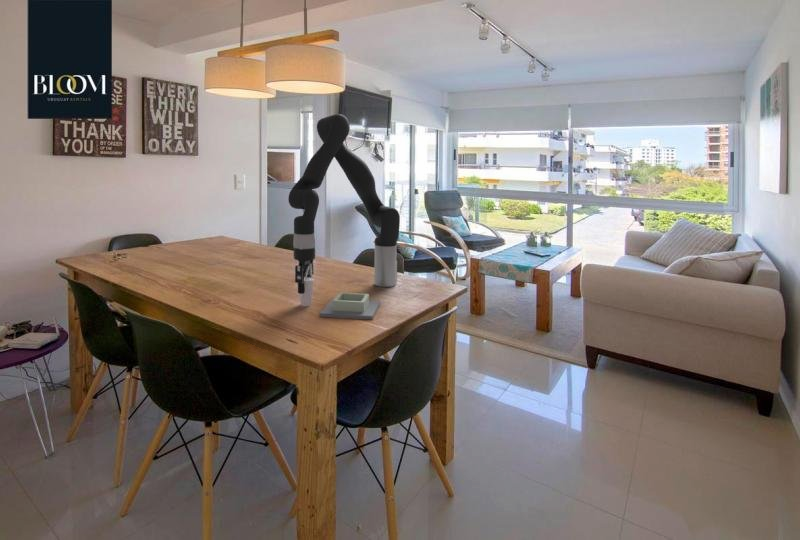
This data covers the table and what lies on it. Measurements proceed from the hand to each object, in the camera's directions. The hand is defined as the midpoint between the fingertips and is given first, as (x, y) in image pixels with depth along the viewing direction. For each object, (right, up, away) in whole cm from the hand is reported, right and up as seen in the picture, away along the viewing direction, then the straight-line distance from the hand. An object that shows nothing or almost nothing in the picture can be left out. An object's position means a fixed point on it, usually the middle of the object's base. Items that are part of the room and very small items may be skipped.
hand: (304, 290), depth 175 cm
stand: (+17, -7, -4) cm, 19 cm away
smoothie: (0, -6, +1) cm, 6 cm away
